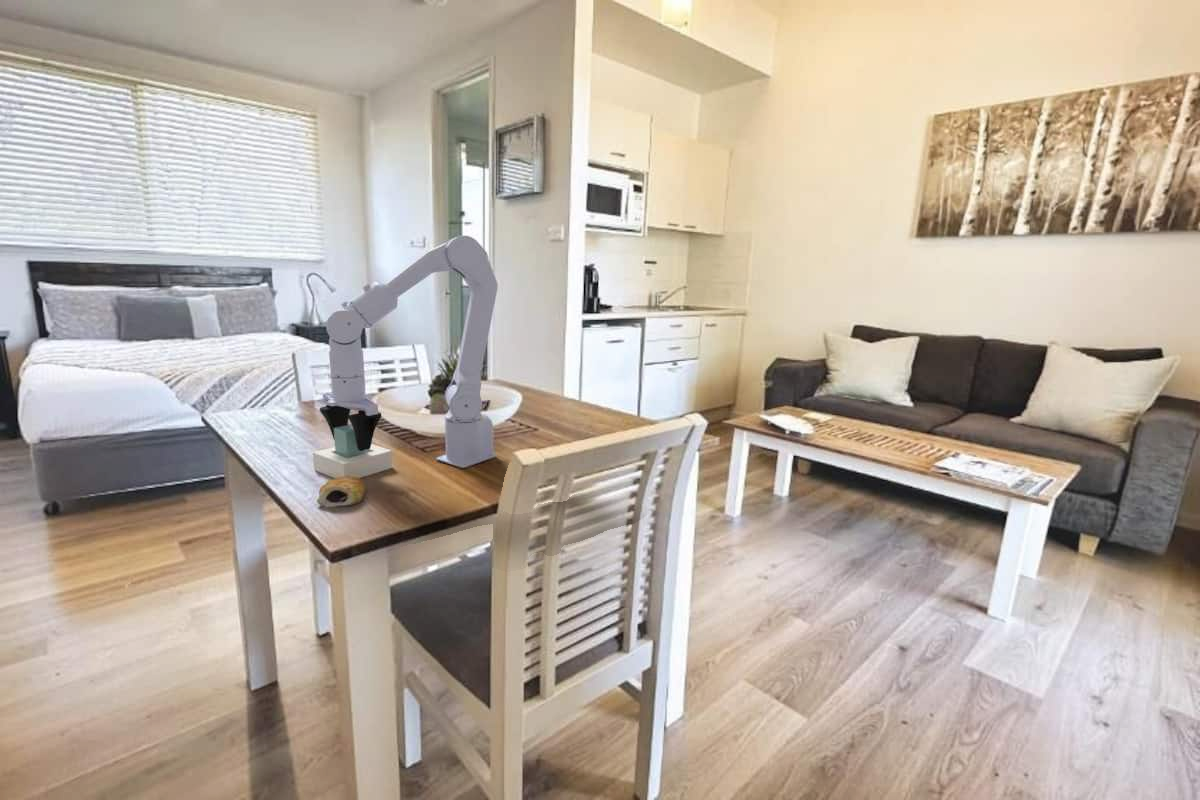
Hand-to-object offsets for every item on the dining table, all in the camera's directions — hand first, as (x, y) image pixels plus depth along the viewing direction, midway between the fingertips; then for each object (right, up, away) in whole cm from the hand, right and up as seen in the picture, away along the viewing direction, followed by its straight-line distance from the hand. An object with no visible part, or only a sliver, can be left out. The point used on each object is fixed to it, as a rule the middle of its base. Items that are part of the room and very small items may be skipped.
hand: (352, 445), depth 108 cm
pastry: (+4, -8, -12) cm, 15 cm away
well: (0, -5, +1) cm, 5 cm away
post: (0, -4, +1) cm, 4 cm away
